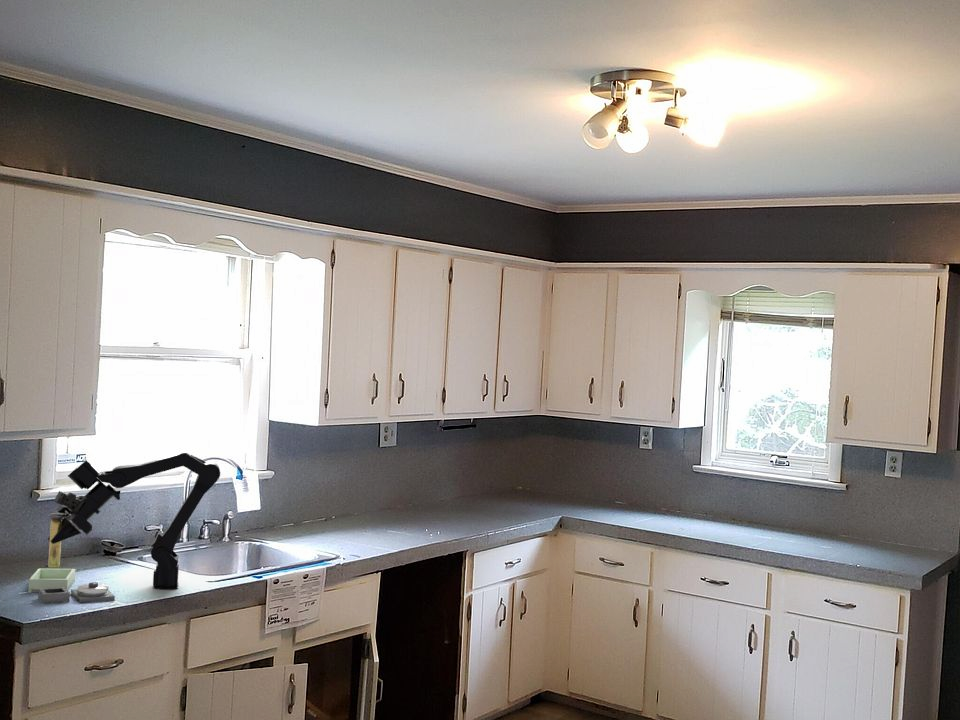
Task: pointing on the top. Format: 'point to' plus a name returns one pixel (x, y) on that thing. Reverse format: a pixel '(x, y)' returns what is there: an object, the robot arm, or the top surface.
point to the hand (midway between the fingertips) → (50, 541)
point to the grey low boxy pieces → (77, 594)
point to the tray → (51, 579)
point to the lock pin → (56, 548)
